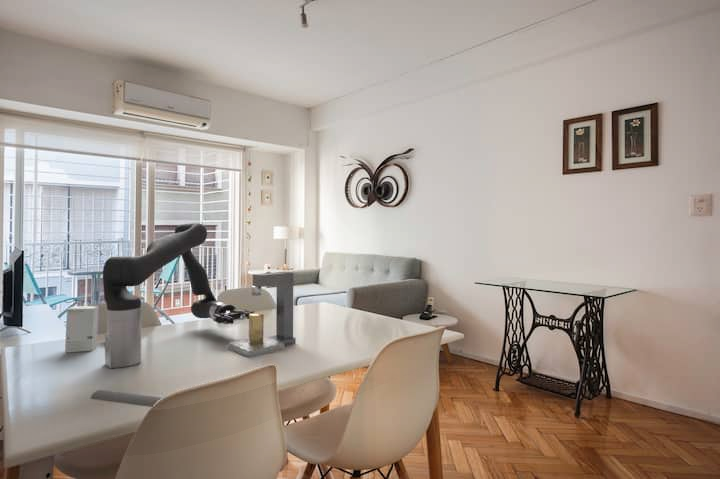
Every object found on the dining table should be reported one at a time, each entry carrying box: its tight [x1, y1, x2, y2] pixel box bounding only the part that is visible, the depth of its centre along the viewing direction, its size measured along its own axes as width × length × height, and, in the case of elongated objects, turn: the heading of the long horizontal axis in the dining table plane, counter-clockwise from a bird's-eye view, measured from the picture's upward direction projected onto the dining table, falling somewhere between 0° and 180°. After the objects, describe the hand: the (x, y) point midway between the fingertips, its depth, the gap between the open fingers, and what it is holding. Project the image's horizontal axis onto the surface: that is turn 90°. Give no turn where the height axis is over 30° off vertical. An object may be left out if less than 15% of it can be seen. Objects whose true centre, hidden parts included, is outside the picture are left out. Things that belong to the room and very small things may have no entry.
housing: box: [248, 312, 265, 345], centre depth 146 cm, size 5×5×10 cm
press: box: [227, 271, 297, 358], centre depth 150 cm, size 21×20×26 cm
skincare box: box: [64, 305, 99, 353], centre depth 143 cm, size 8×6×15 cm
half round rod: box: [90, 389, 162, 408], centre depth 102 cm, size 4×20×2 cm, turn 76°
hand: (243, 319), depth 152 cm, fingers open, 8 cm apart
